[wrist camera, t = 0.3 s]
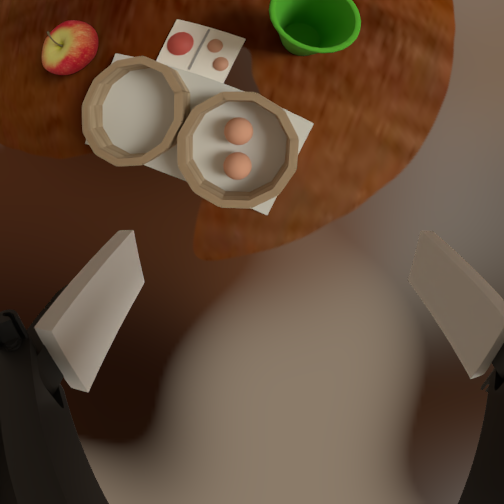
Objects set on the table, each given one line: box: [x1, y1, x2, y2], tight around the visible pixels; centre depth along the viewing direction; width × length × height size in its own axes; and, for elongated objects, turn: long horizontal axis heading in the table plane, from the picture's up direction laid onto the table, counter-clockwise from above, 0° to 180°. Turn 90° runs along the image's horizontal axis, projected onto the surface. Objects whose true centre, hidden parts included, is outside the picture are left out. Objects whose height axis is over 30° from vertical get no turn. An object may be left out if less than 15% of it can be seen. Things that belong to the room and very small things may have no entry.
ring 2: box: [177, 92, 299, 209], centre depth 33 cm, size 14×14×4 cm
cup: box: [269, 0, 361, 56], centre depth 23 cm, size 9×9×11 cm
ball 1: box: [224, 117, 253, 145], centre depth 32 cm, size 4×4×4 cm
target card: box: [156, 19, 246, 83], centre depth 29 cm, size 10×7×1 cm
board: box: [85, 54, 313, 215], centre depth 34 cm, size 29×14×1 cm, turn 66°
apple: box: [42, 20, 98, 75], centre depth 23 cm, size 8×8×10 cm
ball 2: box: [223, 152, 252, 180], centre depth 34 cm, size 4×4×4 cm
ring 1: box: [82, 56, 191, 166], centre depth 30 cm, size 14×14×4 cm
